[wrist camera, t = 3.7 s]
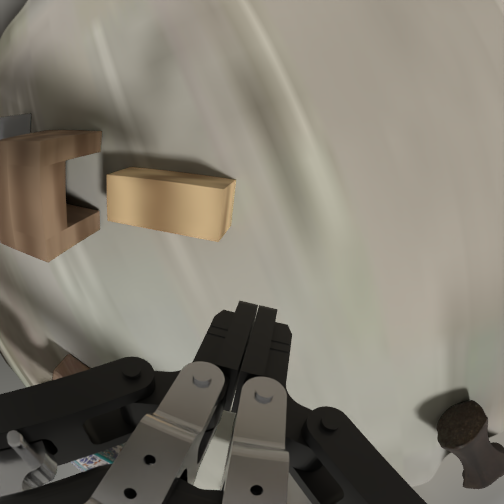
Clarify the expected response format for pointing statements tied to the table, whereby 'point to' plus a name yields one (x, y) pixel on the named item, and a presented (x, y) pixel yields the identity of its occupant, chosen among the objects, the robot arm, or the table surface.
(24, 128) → the wall
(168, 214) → the tan wooden block
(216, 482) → the table surface
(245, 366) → the robot arm
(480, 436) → the dark brown bone
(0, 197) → the socket block
